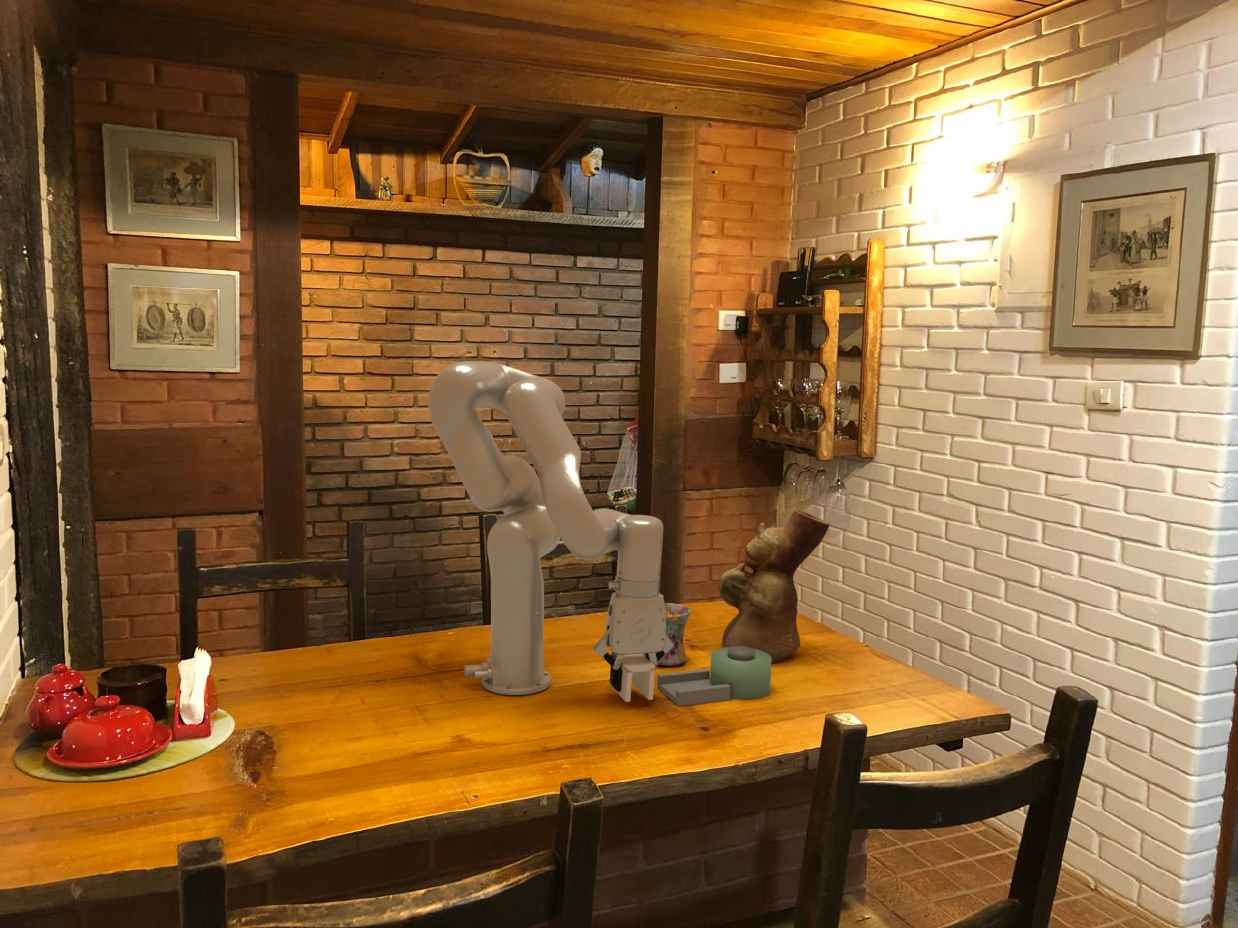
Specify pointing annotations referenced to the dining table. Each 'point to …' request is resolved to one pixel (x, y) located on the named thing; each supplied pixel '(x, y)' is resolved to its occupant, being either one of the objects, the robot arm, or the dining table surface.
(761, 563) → the ceramic vessel
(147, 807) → the dining table surface
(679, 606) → the floral vase
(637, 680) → the arch block
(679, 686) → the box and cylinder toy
